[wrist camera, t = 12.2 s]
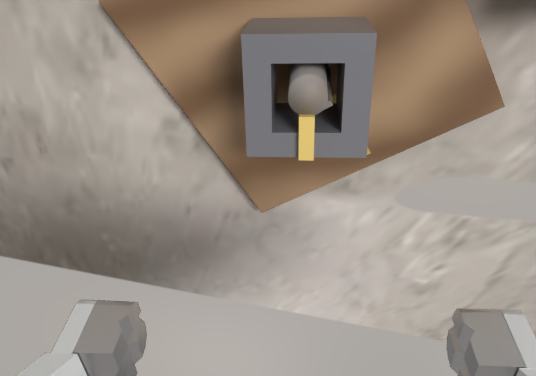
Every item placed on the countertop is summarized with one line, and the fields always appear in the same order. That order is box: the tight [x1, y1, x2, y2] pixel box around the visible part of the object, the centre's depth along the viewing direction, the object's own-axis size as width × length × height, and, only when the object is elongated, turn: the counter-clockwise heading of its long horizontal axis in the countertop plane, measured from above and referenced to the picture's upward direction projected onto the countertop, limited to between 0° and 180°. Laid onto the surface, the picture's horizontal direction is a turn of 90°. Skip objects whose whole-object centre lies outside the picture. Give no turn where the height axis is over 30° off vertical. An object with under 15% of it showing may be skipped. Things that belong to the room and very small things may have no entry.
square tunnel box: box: [241, 17, 377, 161], centre depth 26 cm, size 6×6×5 cm
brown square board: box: [99, 0, 505, 212], centre depth 26 cm, size 18×18×7 cm
